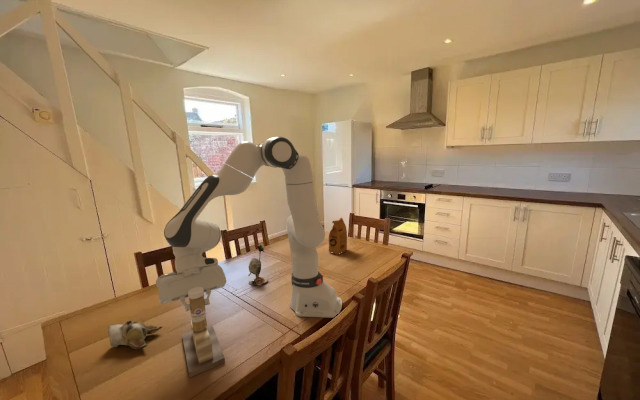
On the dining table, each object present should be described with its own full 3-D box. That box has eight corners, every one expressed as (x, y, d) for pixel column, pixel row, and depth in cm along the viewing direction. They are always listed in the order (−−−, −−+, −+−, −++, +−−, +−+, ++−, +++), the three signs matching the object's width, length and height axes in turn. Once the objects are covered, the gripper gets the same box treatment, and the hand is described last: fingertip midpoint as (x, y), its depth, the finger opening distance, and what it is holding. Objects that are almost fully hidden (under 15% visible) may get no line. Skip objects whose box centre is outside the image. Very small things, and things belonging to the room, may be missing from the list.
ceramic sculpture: (119, 312, 92) (162, 311, 93) (121, 333, 94) (163, 332, 95) (95, 332, 82) (144, 331, 83) (98, 355, 83) (146, 354, 84)
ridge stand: (182, 338, 91) (179, 319, 89) (212, 327, 96) (210, 309, 95) (189, 377, 74) (186, 355, 73) (225, 361, 79) (223, 340, 78)
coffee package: (326, 252, 168) (325, 220, 164) (337, 247, 177) (336, 216, 174) (338, 255, 162) (338, 222, 158) (349, 250, 171) (349, 218, 167)
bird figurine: (257, 275, 137) (255, 240, 133) (270, 282, 129) (268, 245, 126) (244, 281, 131) (241, 244, 128) (256, 288, 123) (253, 249, 120)
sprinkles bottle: (195, 334, 80) (190, 295, 78) (190, 327, 84) (185, 289, 82) (209, 327, 84) (205, 289, 81) (204, 321, 87) (200, 284, 85)
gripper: (154, 272, 80) (159, 316, 74) (221, 257, 91) (231, 294, 85) (155, 280, 85) (160, 321, 78) (219, 264, 96) (228, 300, 90)
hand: (198, 307), depth 82 cm, fingers closed on sprinkles bottle, 4 cm apart
